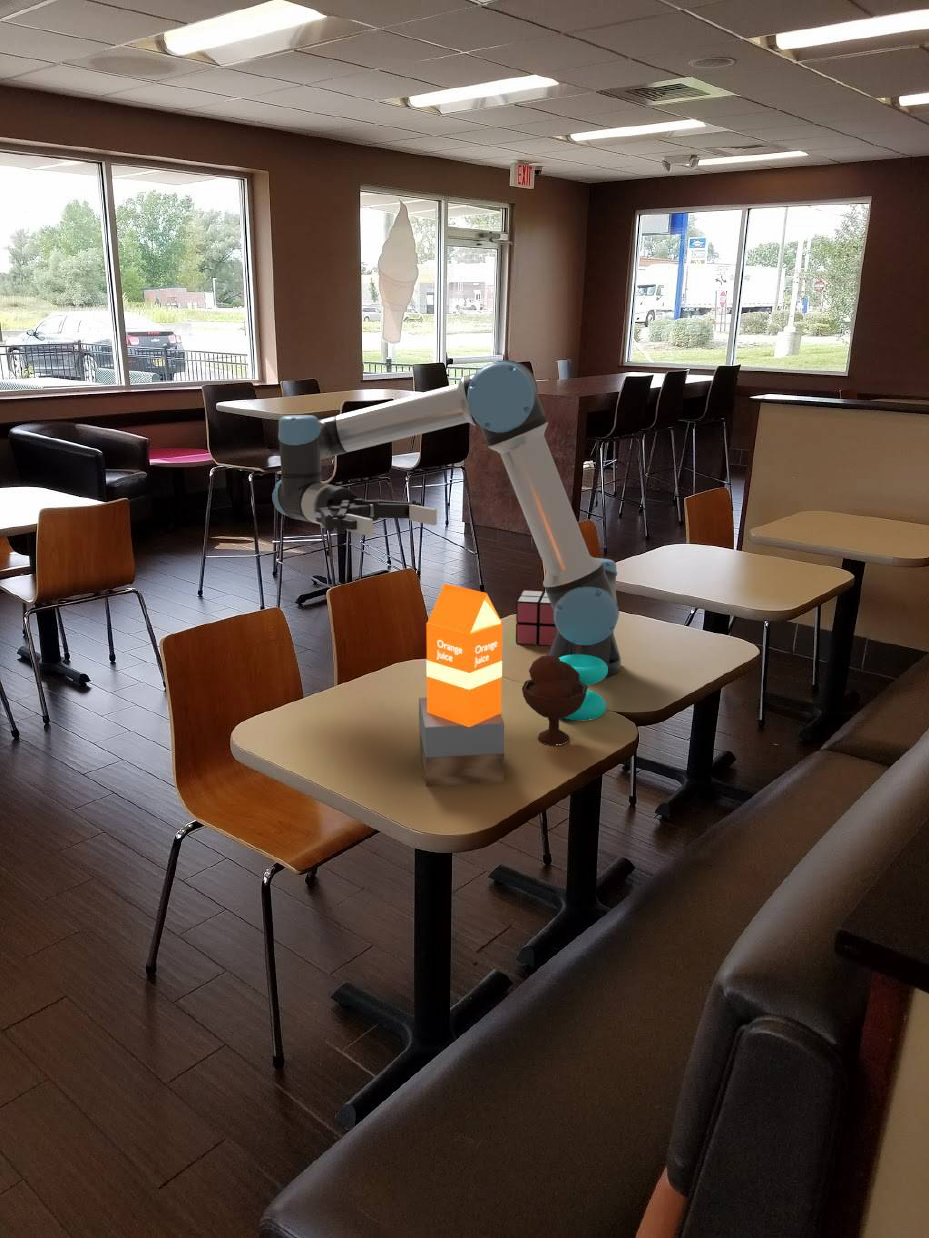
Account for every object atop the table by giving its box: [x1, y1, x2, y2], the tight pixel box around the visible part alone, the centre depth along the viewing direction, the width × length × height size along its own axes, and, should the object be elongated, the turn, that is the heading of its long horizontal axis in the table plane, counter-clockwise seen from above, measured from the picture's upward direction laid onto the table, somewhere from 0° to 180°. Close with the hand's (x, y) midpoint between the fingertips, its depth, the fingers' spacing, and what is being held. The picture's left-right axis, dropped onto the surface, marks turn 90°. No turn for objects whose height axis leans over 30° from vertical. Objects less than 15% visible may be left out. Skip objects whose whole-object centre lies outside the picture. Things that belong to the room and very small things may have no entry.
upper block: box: [418, 697, 505, 758], centre depth 146 cm, size 12×12×5 cm
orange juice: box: [425, 583, 503, 727], centre depth 142 cm, size 8×9×20 cm
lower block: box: [419, 732, 505, 787], centre depth 148 cm, size 12×12×5 cm
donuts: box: [559, 654, 608, 721], centre depth 168 cm, size 10×10×10 cm
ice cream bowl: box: [521, 654, 589, 746], centre depth 156 cm, size 11×11×15 cm
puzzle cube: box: [515, 590, 557, 647], centre depth 210 cm, size 10×10×10 cm
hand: (404, 522), depth 155 cm, fingers open, 13 cm apart
